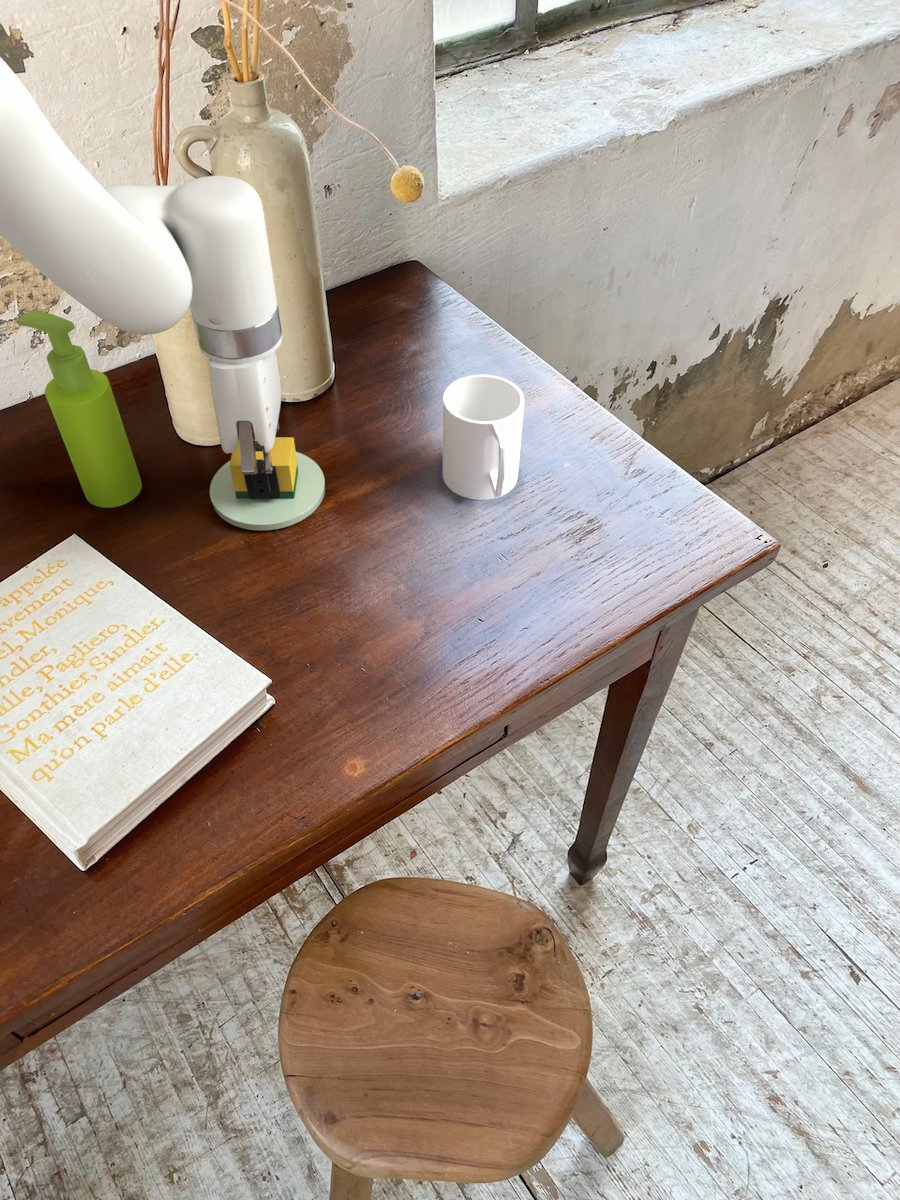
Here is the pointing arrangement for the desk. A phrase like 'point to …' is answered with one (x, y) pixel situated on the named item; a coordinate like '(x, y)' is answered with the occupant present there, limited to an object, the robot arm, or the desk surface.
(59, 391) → the soap dispenser
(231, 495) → the plate
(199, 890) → the desk surface
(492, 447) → the cup
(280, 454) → the sponge
